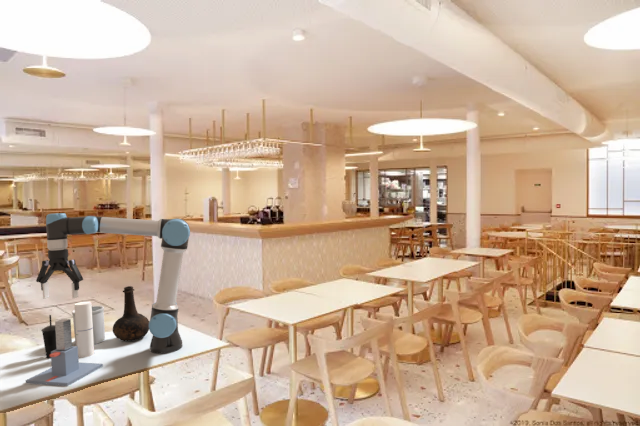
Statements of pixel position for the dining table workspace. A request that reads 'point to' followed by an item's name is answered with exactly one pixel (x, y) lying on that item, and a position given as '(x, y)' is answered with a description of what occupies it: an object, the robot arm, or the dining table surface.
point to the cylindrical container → (84, 328)
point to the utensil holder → (95, 324)
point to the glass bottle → (130, 320)
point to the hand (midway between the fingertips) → (60, 297)
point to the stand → (64, 369)
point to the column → (63, 334)
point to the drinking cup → (49, 338)
